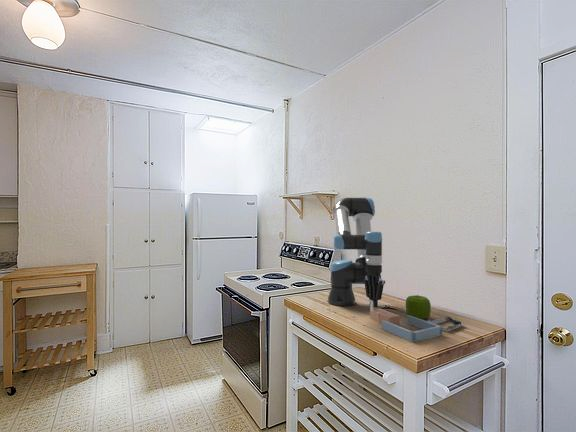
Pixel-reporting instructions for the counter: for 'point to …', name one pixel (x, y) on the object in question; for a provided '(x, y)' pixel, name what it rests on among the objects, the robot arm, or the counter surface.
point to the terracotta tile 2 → (389, 318)
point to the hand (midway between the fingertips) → (373, 313)
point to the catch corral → (427, 331)
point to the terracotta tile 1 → (376, 314)
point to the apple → (418, 306)
